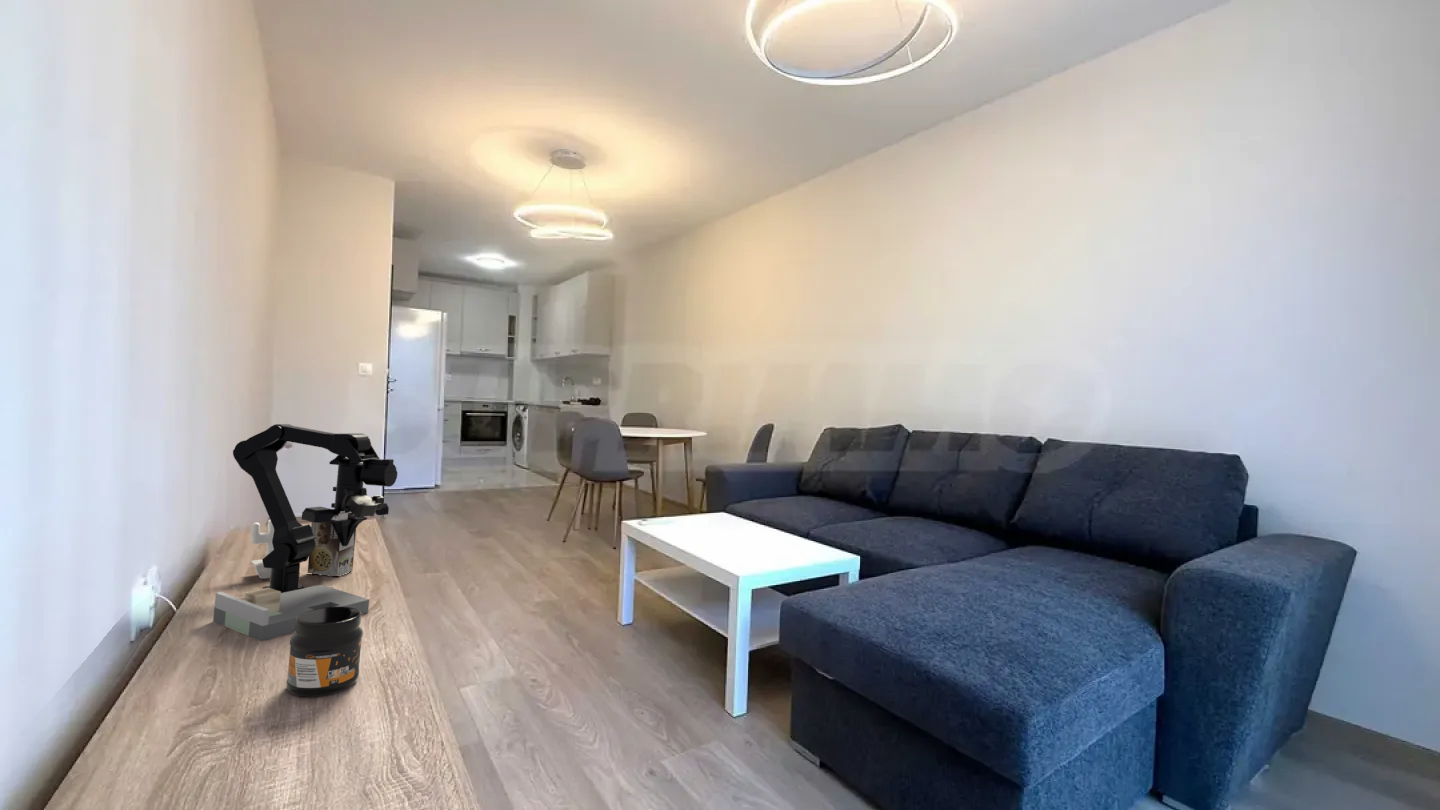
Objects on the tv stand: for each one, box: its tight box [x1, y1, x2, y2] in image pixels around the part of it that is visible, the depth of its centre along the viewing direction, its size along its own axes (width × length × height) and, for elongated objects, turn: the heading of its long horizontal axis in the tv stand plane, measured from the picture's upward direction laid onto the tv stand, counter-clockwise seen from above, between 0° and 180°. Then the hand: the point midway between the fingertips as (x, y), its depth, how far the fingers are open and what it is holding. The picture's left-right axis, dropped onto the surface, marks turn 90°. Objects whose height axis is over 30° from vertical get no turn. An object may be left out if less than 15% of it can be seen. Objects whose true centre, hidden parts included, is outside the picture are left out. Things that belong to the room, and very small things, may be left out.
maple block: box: [243, 588, 281, 613], centre depth 126 cm, size 4×4×4 cm
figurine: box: [250, 519, 274, 580], centre depth 159 cm, size 7×9×15 cm
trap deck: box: [212, 584, 370, 642], centre depth 132 cm, size 18×22×6 cm
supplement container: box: [286, 607, 364, 698], centre depth 103 cm, size 10×10×12 cm
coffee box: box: [307, 521, 357, 577], centre depth 165 cm, size 9×6×16 cm
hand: (344, 545), depth 149 cm, fingers closed
